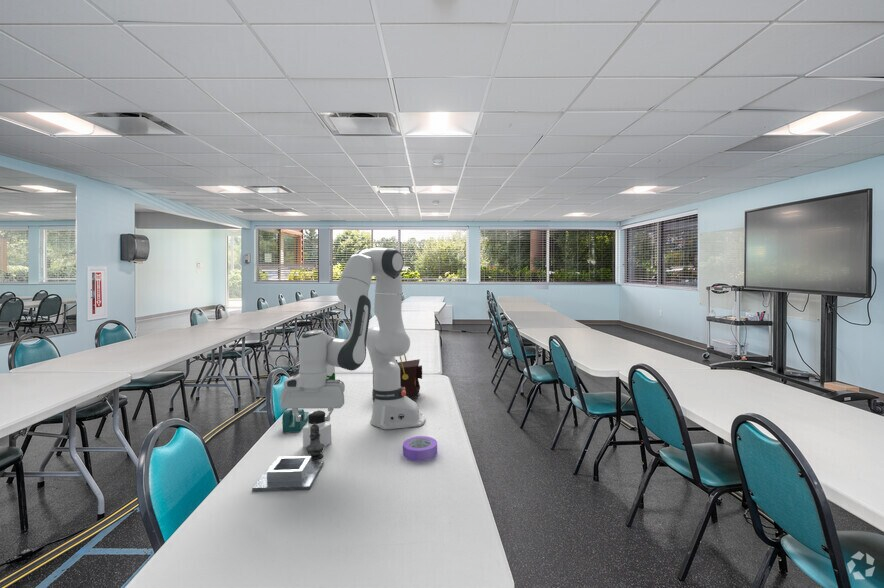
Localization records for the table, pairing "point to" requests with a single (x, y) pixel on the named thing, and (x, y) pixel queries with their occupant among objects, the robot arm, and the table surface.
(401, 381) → the dark brown boxy piece
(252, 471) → the table surface
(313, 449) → the chess piece
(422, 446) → the masking tape
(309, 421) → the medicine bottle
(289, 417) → the bracket
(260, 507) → the table surface
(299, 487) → the plate
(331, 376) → the milk carton
